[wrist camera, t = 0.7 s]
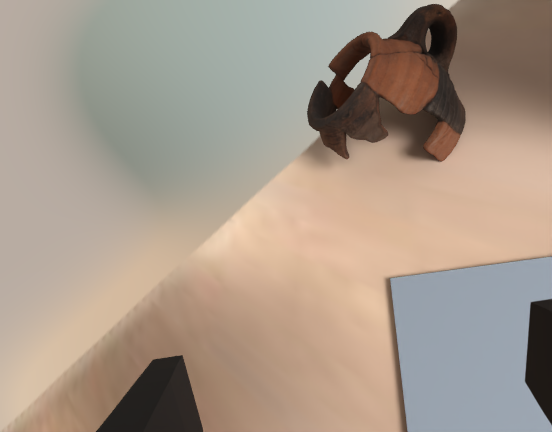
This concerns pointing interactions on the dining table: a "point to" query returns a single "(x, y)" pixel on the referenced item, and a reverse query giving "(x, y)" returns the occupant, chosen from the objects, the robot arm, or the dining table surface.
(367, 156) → the dining table surface
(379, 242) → the dining table surface
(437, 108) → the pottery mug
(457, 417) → the felt mat
